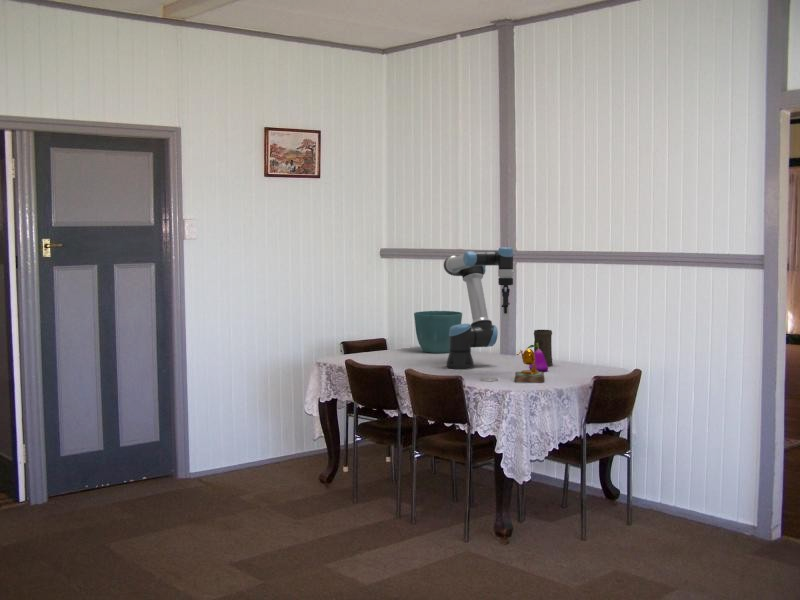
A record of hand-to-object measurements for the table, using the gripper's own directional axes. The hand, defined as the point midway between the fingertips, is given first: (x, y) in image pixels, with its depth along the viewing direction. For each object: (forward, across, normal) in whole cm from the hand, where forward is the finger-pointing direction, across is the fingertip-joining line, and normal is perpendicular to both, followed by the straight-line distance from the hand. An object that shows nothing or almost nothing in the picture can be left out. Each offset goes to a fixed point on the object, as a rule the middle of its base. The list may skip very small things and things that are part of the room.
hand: (505, 318), depth 463 cm
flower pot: (+29, +89, +43) cm, 103 cm away
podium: (+29, -19, -12) cm, 36 cm away
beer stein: (+29, +35, -20) cm, 50 cm away
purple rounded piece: (+29, +13, -17) cm, 36 cm away
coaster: (+29, -21, +8) cm, 37 cm away
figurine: (+26, -17, -12) cm, 33 cm away
